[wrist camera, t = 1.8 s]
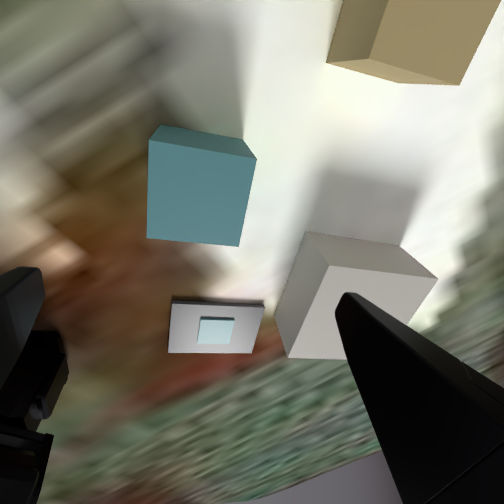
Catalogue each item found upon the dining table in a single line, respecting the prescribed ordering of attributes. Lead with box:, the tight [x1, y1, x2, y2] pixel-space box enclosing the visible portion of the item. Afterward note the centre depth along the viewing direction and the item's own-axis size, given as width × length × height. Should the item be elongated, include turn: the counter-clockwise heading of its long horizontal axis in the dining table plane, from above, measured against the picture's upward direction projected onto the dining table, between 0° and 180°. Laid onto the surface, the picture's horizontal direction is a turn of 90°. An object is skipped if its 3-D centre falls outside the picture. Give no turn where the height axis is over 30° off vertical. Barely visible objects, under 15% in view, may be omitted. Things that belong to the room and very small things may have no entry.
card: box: [168, 301, 265, 353], centre depth 26 cm, size 8×6×1 cm
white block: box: [274, 232, 438, 359], centre depth 24 cm, size 9×9×5 cm
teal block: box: [147, 124, 257, 247], centre depth 17 cm, size 5×5×5 cm
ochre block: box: [326, 0, 501, 86], centre depth 14 cm, size 5×5×5 cm
